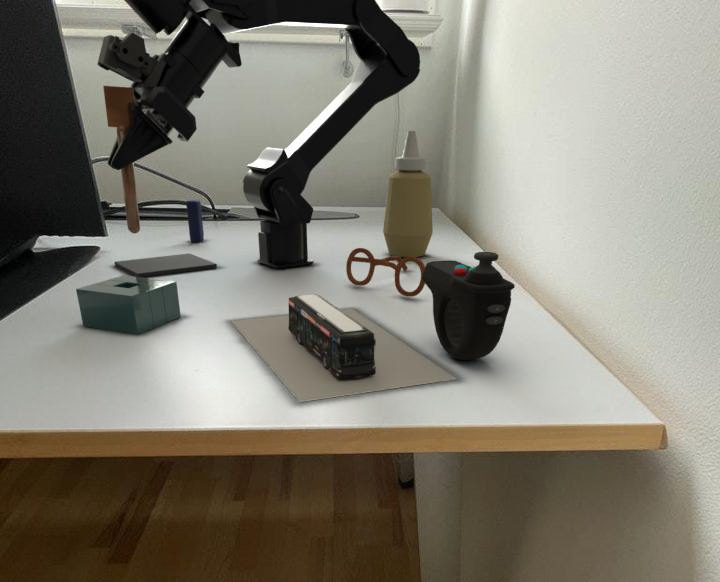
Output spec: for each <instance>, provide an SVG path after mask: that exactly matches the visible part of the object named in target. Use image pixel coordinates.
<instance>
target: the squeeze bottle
mask: <svg viewBox="0 0 720 582" xmlns="http://www.w3.org/2000/svg"><path fill="white" fill-rule="evenodd" d="M403 146H404V147H403V151H402V156H399V157H398V156H397V157H395V167H394V168H395V170H396V171H394V172H392V173H391V174H390V175H389V177H388V184H387V193H386V201H385V208H384V209H385V211H384V217H383V219H384V220H383V228H382V232H383V233H382V234H383V237H384V241H385V243H386V247H387V251H388V255H390V256H398V257H400V258H402V259H403V258H406V257H415V258H419V257H423V256H425V255H426V252H427V249H428V248H429V243H430V241H431V239H432V236H433V232H434V231H433V229H434V228H433V203H432V202H433V201H432V177H431V176H430V174H428V173H427V172H424V171H425V170H426V160H427V159H426V157H422V156H420V153H419V152H420V151H419V146H418V138H417V131H416V130H408V131H407V133H406V138H405V142H404V145H403Z"/></svg>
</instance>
